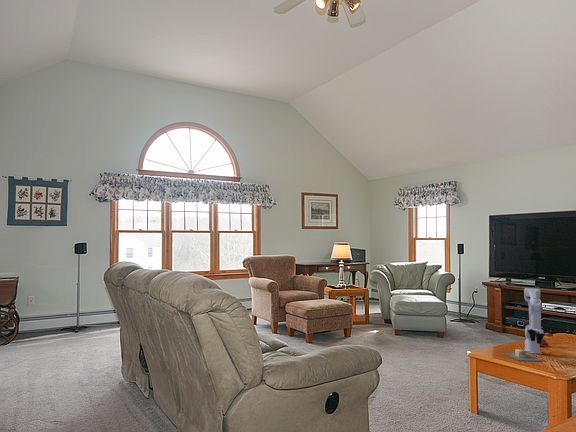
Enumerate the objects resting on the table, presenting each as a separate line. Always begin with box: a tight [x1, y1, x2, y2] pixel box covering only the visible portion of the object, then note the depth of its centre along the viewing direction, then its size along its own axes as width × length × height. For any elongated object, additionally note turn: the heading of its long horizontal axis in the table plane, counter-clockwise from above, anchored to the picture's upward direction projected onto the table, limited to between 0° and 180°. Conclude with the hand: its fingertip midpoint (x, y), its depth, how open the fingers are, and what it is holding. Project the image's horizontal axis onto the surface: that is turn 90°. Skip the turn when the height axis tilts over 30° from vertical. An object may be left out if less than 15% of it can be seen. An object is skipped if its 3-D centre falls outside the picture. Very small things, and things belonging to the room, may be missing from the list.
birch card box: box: [514, 348, 532, 358], centre depth 294 cm, size 8×4×4 cm, turn 90°
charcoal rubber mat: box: [504, 352, 544, 362], centre depth 294 cm, size 18×16×1 cm
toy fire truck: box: [539, 332, 554, 348], centre depth 329 cm, size 3×14×10 cm, turn 101°
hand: (535, 342), depth 295 cm, fingers open, 7 cm apart
